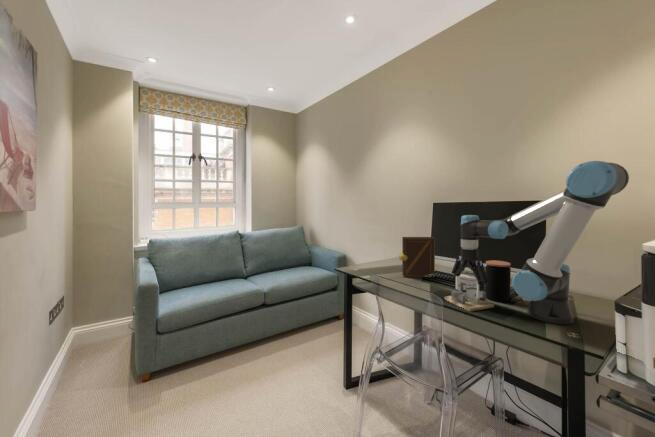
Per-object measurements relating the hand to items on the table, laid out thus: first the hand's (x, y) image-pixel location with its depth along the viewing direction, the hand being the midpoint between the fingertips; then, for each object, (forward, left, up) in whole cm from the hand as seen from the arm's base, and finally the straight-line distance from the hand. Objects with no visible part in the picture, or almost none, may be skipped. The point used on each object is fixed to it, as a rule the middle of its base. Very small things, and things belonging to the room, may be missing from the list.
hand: (468, 293), depth 136 cm
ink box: (0, 0, -4) cm, 4 cm away
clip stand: (0, 0, -5) cm, 5 cm away
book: (+49, -6, -5) cm, 50 cm away
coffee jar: (0, -18, -5) cm, 19 cm away
